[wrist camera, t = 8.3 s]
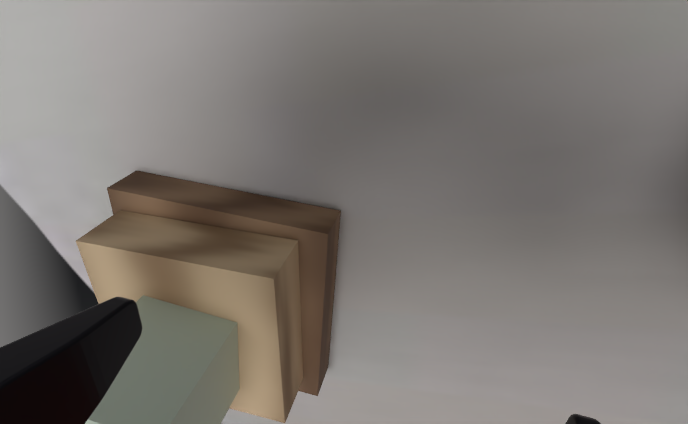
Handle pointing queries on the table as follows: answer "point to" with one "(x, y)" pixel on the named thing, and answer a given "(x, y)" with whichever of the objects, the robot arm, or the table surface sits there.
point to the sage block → (174, 370)
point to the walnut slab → (262, 218)
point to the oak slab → (212, 292)
